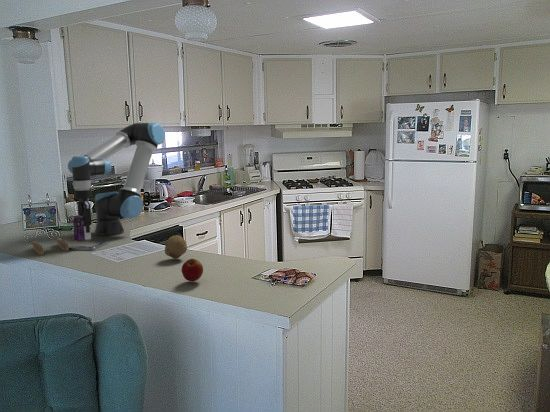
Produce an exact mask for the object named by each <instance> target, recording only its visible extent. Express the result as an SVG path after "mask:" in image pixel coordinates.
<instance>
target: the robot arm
mask: <svg viewBox="0 0 550 412" xmlns="http://www.w3.org/2000/svg"><path fill="white" fill-rule="evenodd" d="M165 138H166V132H165V129H164V128H163V126H162V125H161V124H160V123H158V122H153V121H152V122H151V121H150V122H134V123H132V124H130V125H127V126H125V127H124V128H122V129H121V130H119V131H117V132H116V133H115V136H113V137H111V138H110V139H108V140H107V141H105V142H103V143H101V144H100V145H98V146H97V147H95V148H94V149H93V148H92V150H90V151H88V152H87V153H86V154H84V155H78V156H77V155H76V156H72V157H71V159H70V160H69V161H68V163H67V169H68V171H69V172H70V173H71V175H72V183H71V184H72V186H73V189H74V190H73V197H74V199H78V201H76V205H77V215H80V216H83V219H84V225H83V226H84V235H85V240H87V239H89V240H92V234H91V233H92V232H91V231H92V230H91V226H92V224H93V222H92V211H91V210H92V209H91V207H92V206H91V203H90V201H89V200H88V199H90V198H92V181H91V177H92V176H100V175H101V176H104V175H108V174H110V173H111V172H112V164H111V162H110V160H109V158H110V157H111V156H113V155H115V154H117V153H118V152H119V151H121V150H123V149H124V148H125V149H126V148H129V147H131V146H134V145H136V146H135V147H136V148H135V151H134V153H133V158H132V161H131V164H130V166H129V169H128V173H127V175H126V178H125V181H124V184H123V187H121V188H119V189H118V191H111V192H103V193H97V194H96V195H95V201H94V204H95V214H96V224H95V228H94V231H93V232H94V233H93V234H94V236H95V237H115V236H119V235H122V234H124V233H125V229H124V227H123V224H122V221H121V218H124V219H135V218H137V217H139V215H141V213H142V212H143V209H144V201H143V199H142V198H143V197H142V194H141V189H142V188H143V187H142V186H143V183H144V180H145V178H146V174H147V170H148V168H149V164H150V162H151V158H152V157H153V156H152V155H153V153H154V152H155V151H157V149H158V146H159V145H162V144H163V143H164V142H165Z"/></svg>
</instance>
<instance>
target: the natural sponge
mask: <svg viewBox="0 0 550 412" xmlns="http://www.w3.org/2000/svg"><path fill="white" fill-rule="evenodd" d="M187 250H188V246H187V242H186V240H185V238H183V237H182V236H181V235H172V236H170V237H169V238H168V239H167V240H166V243H165V247H164V253H165V255H166V256H168V257H170V258H172V259H179V258H180V257H181V256H182V255H184V254H185V253H186V252H187Z"/></svg>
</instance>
